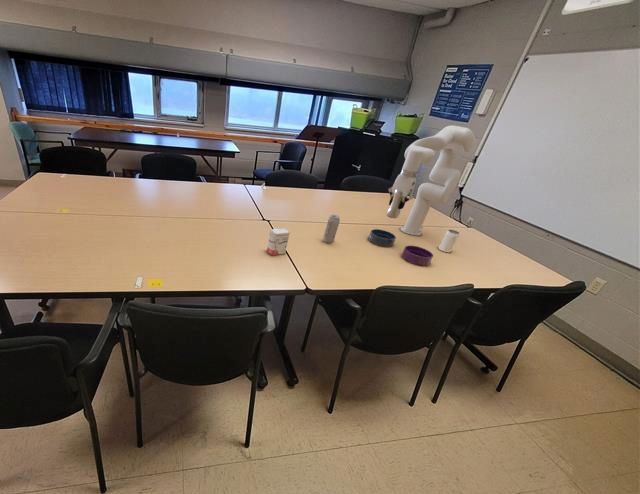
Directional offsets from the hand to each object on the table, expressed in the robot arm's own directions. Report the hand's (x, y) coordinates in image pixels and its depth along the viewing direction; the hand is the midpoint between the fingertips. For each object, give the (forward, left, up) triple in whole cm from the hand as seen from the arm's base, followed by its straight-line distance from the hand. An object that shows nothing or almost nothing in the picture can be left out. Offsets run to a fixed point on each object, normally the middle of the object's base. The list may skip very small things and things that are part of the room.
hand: (395, 206), depth 175 cm
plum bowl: (0, +22, -22) cm, 31 cm away
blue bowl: (0, -1, -22) cm, 22 cm away
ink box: (+71, -11, -22) cm, 75 cm away
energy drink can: (+33, -12, -22) cm, 42 cm away
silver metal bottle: (0, 0, -7) cm, 7 cm away
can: (-32, +21, -22) cm, 44 cm away
